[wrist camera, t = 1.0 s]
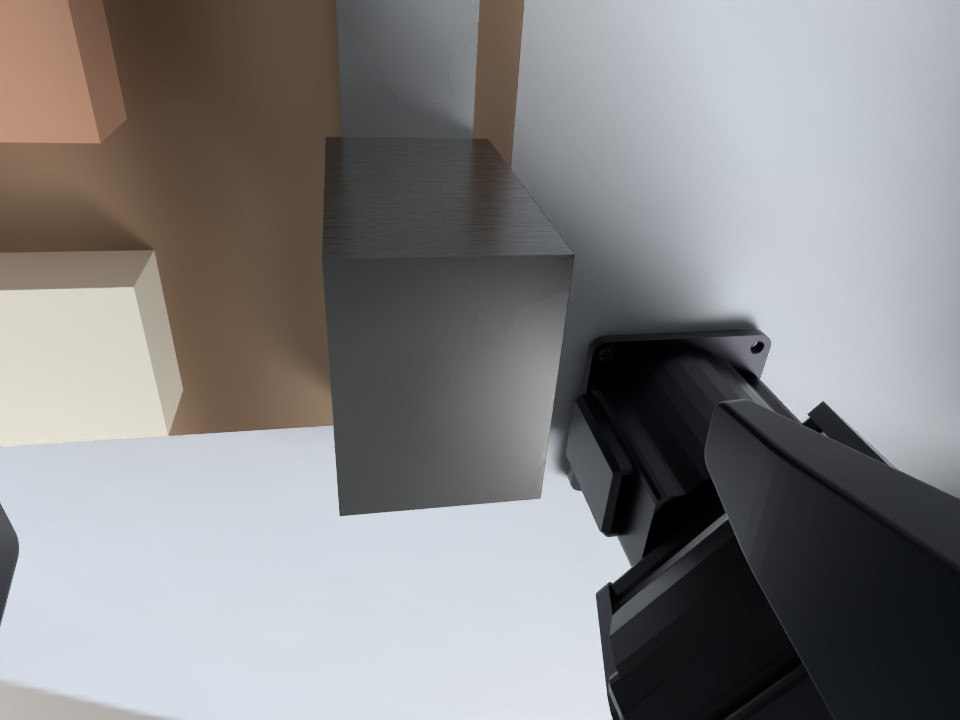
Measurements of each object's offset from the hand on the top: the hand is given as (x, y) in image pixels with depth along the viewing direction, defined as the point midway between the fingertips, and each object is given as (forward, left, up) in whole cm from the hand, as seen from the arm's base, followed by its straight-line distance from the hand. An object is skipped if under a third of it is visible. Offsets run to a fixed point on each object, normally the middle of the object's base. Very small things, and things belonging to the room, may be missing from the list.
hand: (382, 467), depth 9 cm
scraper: (-1, -1, -9) cm, 9 cm away
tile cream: (+7, +3, -9) cm, 12 cm away
